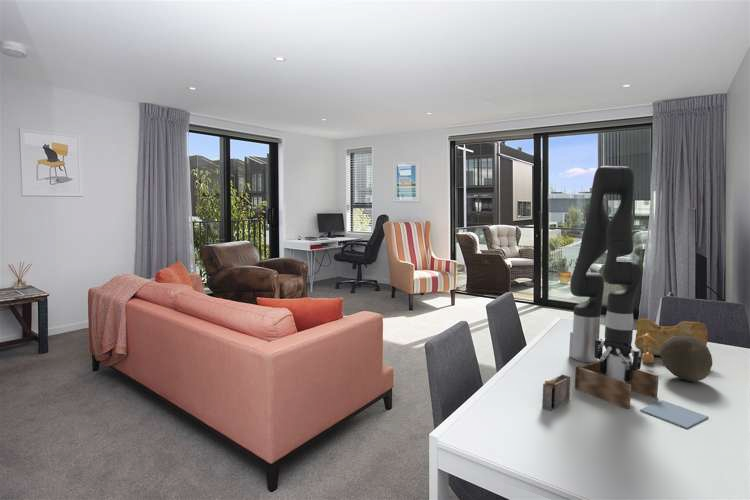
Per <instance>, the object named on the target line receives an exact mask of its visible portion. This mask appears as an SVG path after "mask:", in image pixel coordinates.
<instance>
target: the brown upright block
mask: <svg viewBox="0 0 750 500" xmlns="http://www.w3.org/2000/svg"><path fill="white" fill-rule="evenodd" d="M571 379H572V378H571V376H569V375H567V374H563V373H562V374H560V375H558V376H556V377H554V378H552V379H550V380H545V381H544V383H543V384H542V401H541V403H542V404H541V406H542V407H541V408H542V409H544V410H546V411H549V412H552V406H553V409H557V408H558V407H560V406H561V405H563V404H565V403H567V402H568V401H571V399H570V395H571ZM552 404H553V405H552Z"/></svg>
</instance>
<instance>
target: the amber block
mask: <svg viewBox="0 0 750 500" xmlns="http://www.w3.org/2000/svg"><path fill="white" fill-rule="evenodd" d="M636 326H637V327H636V333H635V340H636V338H637V337H639V336H643V335H645V334H646V333H649V336H650V337H651V338H653V339H654V340H656V341H657V343H658V344H659V345H660V347H659V345H657V343H656V342H655V341H653V340H651V339H650V341H649V343H651V346H652V348H651V350H650V353H651V354H652V355H653V356H657V357H659V356H660V349H661V346H662V345H663V343H664V342H665V341H666V340H668V339H669V338H671V337H673V336H691V337H695V338H697V339H699V340H701V341H702V342H703V343H704V344H705V345H706V346H707V344H708V334H709V333H708V332H709V331H708V329H707V326H706V324H704V323H703V322H698V321H680V322H679V323H677V324H676V325H672V326H663V325H661V326H660V325H658V324H657V323H655V322H654V321H652V320H651V319H649V318H639V319H638V320H637V325H636ZM635 340H634V341H635ZM643 342H645V341H644V339H643V338H638V339H637V341H636V343H635V342H634V346H635V348H636V349H638V350H641V351H642V353H645V352H644V345H643ZM649 348H650V347H648V345H647V346H646V352H648V353H649ZM660 357H661V356H660Z"/></svg>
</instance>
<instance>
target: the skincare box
mask: <svg viewBox="0 0 750 500" xmlns="http://www.w3.org/2000/svg"><path fill="white" fill-rule="evenodd" d="M625 359H626V360H627V357H625ZM625 370H627V369H626V367H625V365H624V364H623V363H622V361H621V357H619V356H616V355H613V354H609V355H608V357H607V365H606V376H607V377H610V378H613V379H616V380H619V381H622V382H625ZM625 383H626V382H625Z"/></svg>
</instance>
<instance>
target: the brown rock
mask: <svg viewBox="0 0 750 500" xmlns="http://www.w3.org/2000/svg"><path fill="white" fill-rule="evenodd" d="M660 358H661V361H662V365H664V367H665V368H666V369H667V370H668V372H670V373H671V375H672V374H673V375H674V376H675V377H676V378H678V379H681V380H684V381H687V382H699V381H702V380H703V381H704V379H706V378H707V377H708V376H709V375H710V373H711V369H712V367H713V357H712V354H711V351H710V349H709V347H708V346H707V345H705V344H704V343H703V342H702V341H701V340H699V339H697V338H695V337H691V336H673V337H671V338H669V339H668V340H666V341H665V342H664V343H663V345H662V346H661V349H660Z"/></svg>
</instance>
